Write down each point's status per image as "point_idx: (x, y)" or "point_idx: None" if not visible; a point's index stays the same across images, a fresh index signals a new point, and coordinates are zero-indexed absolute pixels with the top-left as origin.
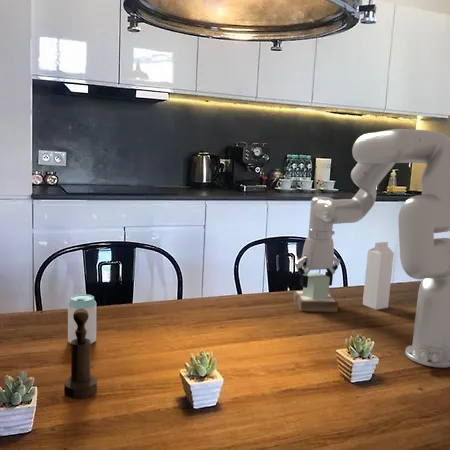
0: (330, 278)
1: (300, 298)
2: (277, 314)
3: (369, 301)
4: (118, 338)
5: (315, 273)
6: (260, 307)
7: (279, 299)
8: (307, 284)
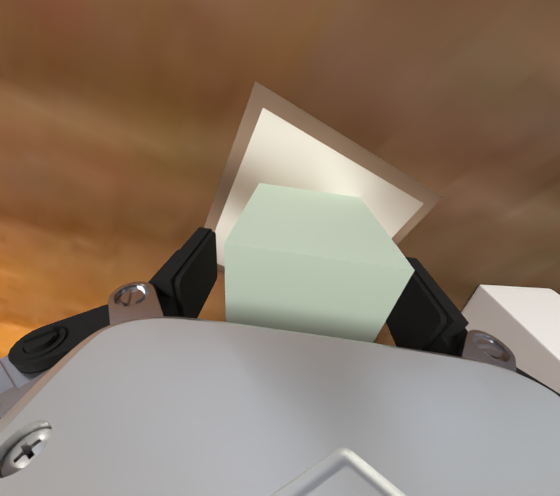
0: (393, 338)
1: (213, 222)
2: (106, 229)
3: (478, 324)
4: None
5: (350, 274)
6: (47, 129)
7: (188, 44)
8: (209, 290)
